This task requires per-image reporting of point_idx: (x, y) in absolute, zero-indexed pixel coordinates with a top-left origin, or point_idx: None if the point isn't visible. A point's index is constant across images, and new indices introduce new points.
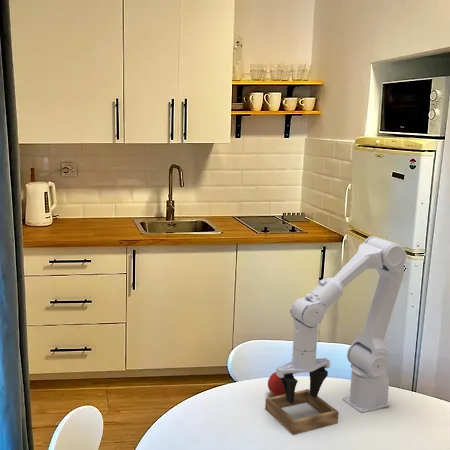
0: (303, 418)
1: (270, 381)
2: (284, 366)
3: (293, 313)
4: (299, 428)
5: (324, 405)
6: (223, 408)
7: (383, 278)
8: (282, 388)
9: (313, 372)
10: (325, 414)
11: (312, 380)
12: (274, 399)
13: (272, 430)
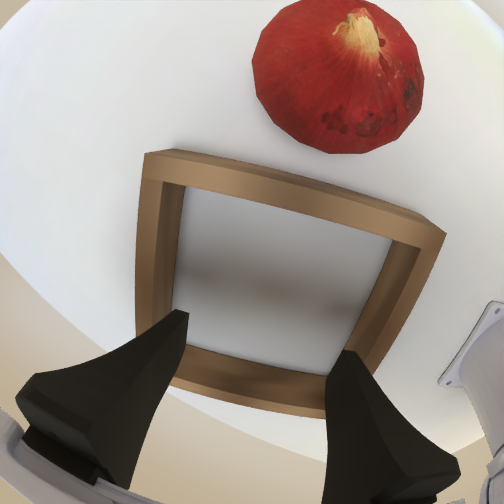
0: (188, 383)
1: (259, 44)
2: (25, 488)
3: None
4: None
5: None
6: (57, 64)
7: None
8: (303, 143)
9: (357, 493)
10: (284, 411)
11: (357, 431)
12: (187, 185)
13: (110, 287)
